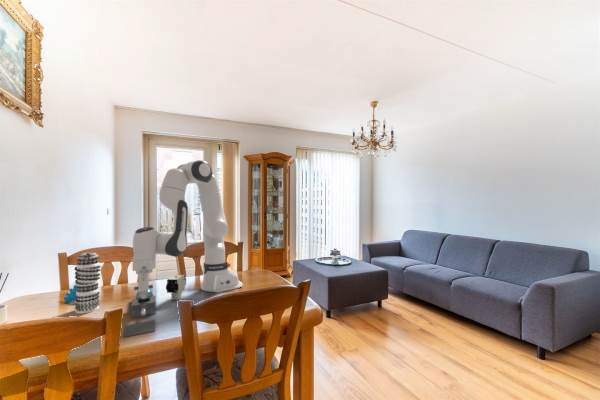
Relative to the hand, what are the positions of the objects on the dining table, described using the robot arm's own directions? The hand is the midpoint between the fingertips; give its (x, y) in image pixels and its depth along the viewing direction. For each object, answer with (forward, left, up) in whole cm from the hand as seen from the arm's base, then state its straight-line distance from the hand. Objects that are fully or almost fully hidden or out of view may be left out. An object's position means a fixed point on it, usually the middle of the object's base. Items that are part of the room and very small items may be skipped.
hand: (143, 296), depth 119 cm
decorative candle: (+22, -14, -7) cm, 27 cm away
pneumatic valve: (-14, -10, -7) cm, 18 cm away
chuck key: (0, 0, -4) cm, 4 cm away
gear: (+29, -29, -7) cm, 42 cm away
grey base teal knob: (0, -4, -7) cm, 8 cm away
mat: (+1, +17, -7) cm, 18 cm away
